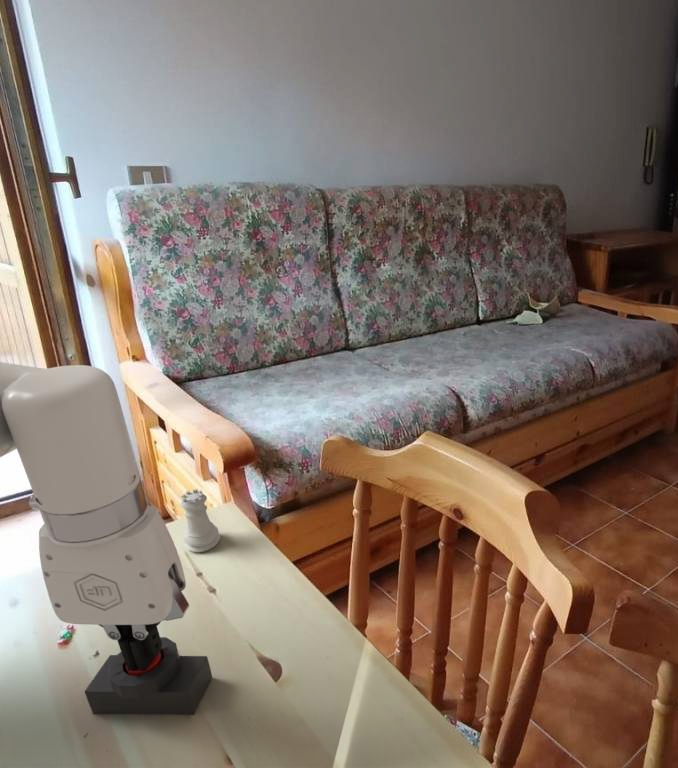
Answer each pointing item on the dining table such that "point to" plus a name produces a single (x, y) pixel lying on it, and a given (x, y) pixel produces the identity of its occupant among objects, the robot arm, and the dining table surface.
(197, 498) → the rook chess piece
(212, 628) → the dining table surface
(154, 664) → the power button
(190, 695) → the power button base
